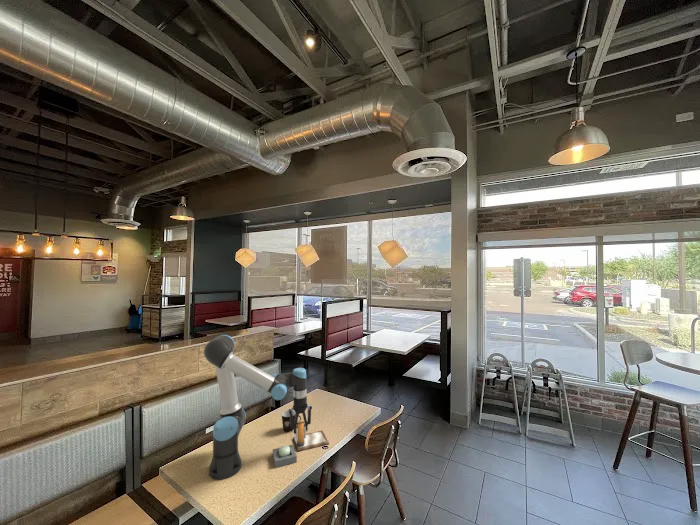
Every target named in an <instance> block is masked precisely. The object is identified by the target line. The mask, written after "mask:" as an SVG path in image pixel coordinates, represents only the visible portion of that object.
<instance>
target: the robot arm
mask: <svg viewBox="0 0 700 525" xmlns="http://www.w3.org/2000/svg"><path fill="white" fill-rule="evenodd" d="M234 349H235V340H234V338H232V336H230V335H229V334H220V335H217V336H215V337H214V338H213V339H211V340H210V341H208V343H207V344H206V345H205V346H204V350H203V354H204V358H205V359H206V361H207V362H208V363H210V364H211V365H213V366H214V367H215V372H216V380H217V385H218V391H219V398H220V404H221V409H220V411H219V417H220V419H218V420H217V421H216V422H215V423H214V425H213V429H212V458H211V461H210V465H209V467H208V475H209V477H210V478H211V479H214V480H225V479H227V478H228V479H229V478H230V477H233V476H235V475H236V474H237V473H238V472H240V470H241V468H242V458H241V455H240V453H239V435H240V433H241V430H242V428H243V427H244V425H245V423H246V418H247V417H246V416H247V414H246V412H245V409H244V408H243V405H242V404H241V403H240V402H239V397H238V391H237V383H236V378H235V375H236V376H237V377H240V378H242V379H243V380H245V381H247V382H248V383H250V384H253V385H254V386H256V387H258V388H259V389H261V390H264V391H265V392H267V393H269V394H270V395H271V397H272V399H274V400H275V401H281V400H283V399H284V398H285V397H286V394H287V392H288V388H292V390H293V394H292V395H293V405H292V408H289V409H287V410H288V411H289V413H290V426H291V428H294V429H293V433H294V435H295V436H296V440H298V428H297V422H298V421H299V417H298V416H300V414H302V417H303V422H304V438H306V434H307V432H308V426H309V425H311V423H312V422H311V421H312V420H311V419H312V408H313V407H312V405H311V404H308V402H307V401H308V399H307V397H308V396H307V394H308V393H307V369H305V368H303V367H298V368H294V369H293V370H292V372H286V373H273V374H272V375H271V374H269V373H268V372H265V371H264V370H262V369H260V368H258V367H257V366H254V365H253V364H251V363H249V362H248V361H246V360H244V359H242V358H240V357H238V356H237V355H235V354H234ZM306 410H307V416H306ZM293 411H295V419H294V425H293V415H292V413H293Z"/></svg>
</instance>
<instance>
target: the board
mask: <svg viewBox="0 0 700 525" xmlns="http://www.w3.org/2000/svg"><path fill="white" fill-rule="evenodd" d="M304 440H305V444H304V446H301V447H299V446H297V440H296V435H295V436H293V441H294V444H295V447H296V449H297V452H303V451H307V450H311V449H316V448H319V447H324V446H328V445H330V441H329V440H328V438H327V436H326V435H325V433H324V431H323V430H318V431H314V432H308V433H306V438H304Z"/></svg>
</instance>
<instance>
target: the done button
mask: <svg viewBox="0 0 700 525" xmlns="http://www.w3.org/2000/svg"><path fill="white" fill-rule="evenodd" d="M289 446H290V445H281V446H280V447H278V448H279V456H278V458H282V457H286V456H290V447H289Z"/></svg>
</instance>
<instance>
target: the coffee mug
mask: <svg viewBox="0 0 700 525" xmlns="http://www.w3.org/2000/svg"><path fill="white" fill-rule="evenodd" d="M288 410H289V409H287V410H284V411H283V412H282V413H281V420H282V430H283V432H285V433H292V432H294V428H291V426H290V413H289V411H288ZM292 415H293V425H294V419H295V411H294V410H293V413H292ZM298 418H299V419H298V421H297V422H299V421H302V417H301V416H300V415H299V416H298Z"/></svg>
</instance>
